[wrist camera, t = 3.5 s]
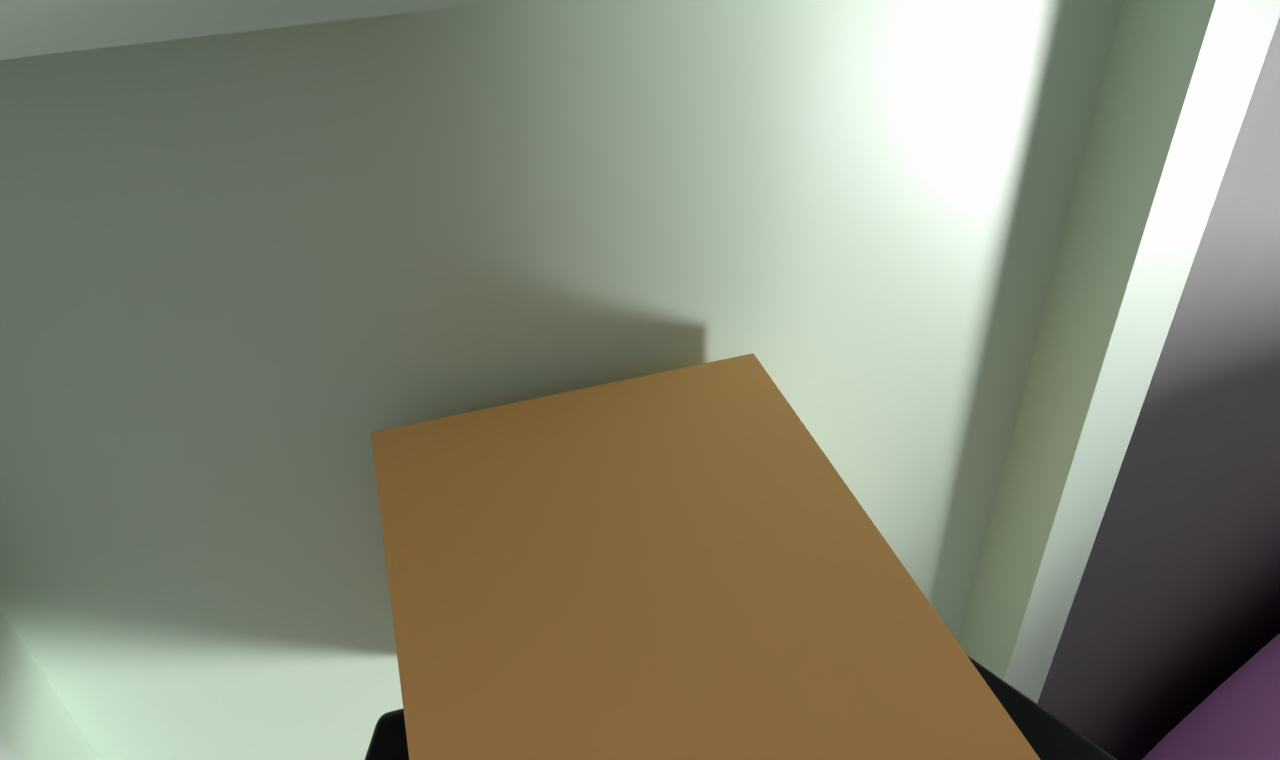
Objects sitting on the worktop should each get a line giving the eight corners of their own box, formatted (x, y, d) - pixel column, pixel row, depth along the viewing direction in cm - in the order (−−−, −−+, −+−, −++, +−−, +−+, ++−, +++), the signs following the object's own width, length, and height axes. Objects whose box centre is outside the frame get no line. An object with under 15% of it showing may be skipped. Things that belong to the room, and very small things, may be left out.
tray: (1217, -216, 9) (1355, -202, 8) (970, 679, 17) (1020, 751, 16) (-560, -73, 6) (-758, -17, 5) (158, 923, 14) (147, 1034, 13)
